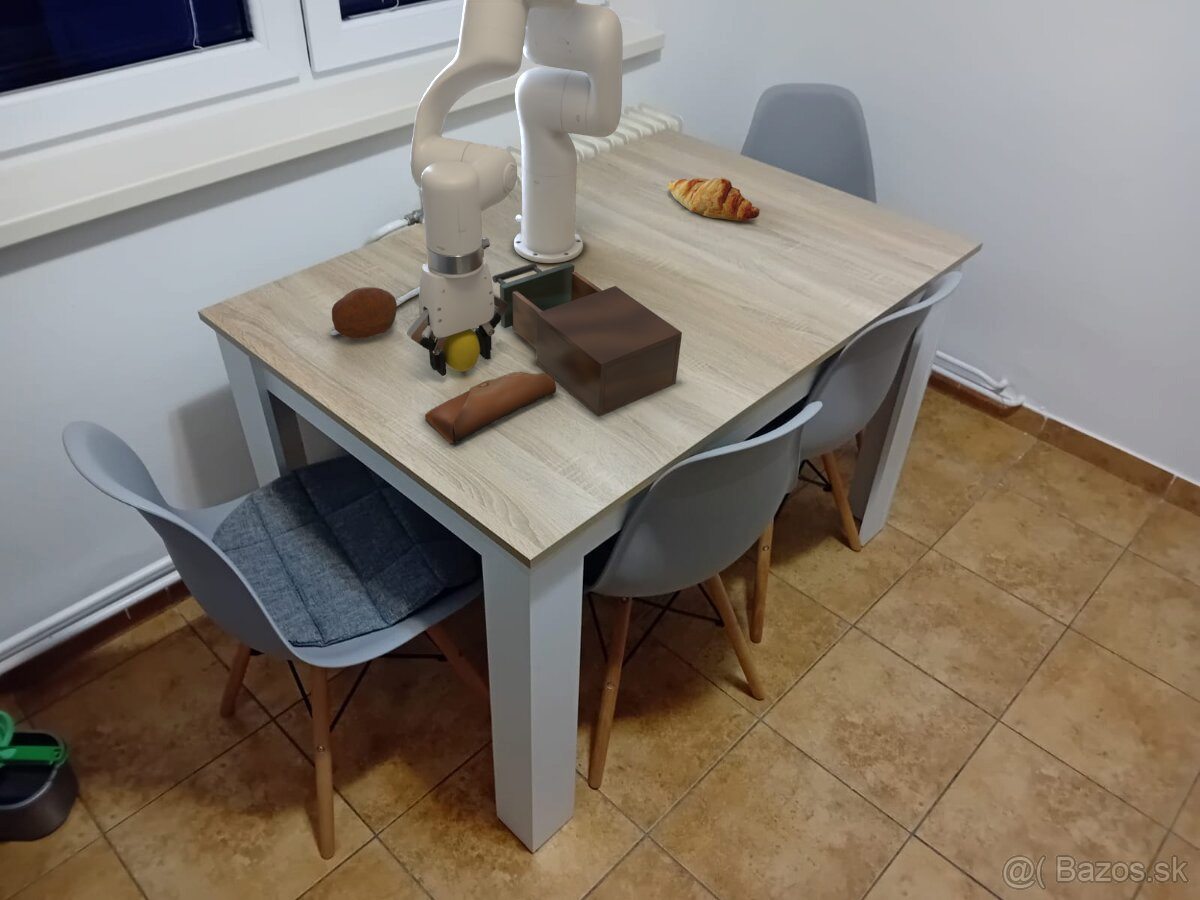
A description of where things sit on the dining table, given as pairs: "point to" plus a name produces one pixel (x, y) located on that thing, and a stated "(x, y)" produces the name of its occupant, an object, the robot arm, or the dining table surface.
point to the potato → (364, 312)
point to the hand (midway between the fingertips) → (461, 362)
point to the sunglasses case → (488, 404)
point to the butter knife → (398, 301)
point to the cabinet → (607, 349)
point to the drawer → (538, 295)
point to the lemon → (462, 350)
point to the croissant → (713, 198)
